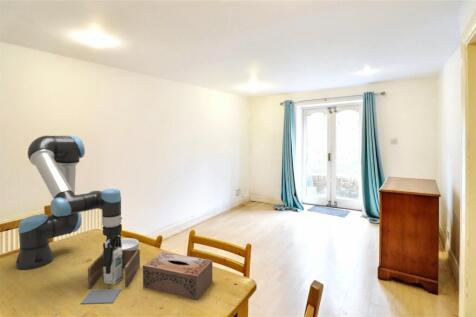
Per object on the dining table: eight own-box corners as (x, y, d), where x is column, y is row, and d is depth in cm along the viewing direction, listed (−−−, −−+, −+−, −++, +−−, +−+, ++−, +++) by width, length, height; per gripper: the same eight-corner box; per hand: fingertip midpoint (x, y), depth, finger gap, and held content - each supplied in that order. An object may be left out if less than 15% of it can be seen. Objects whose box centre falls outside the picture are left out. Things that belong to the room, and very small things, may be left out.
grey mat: (80, 304, 100) (80, 303, 100) (91, 290, 109) (91, 289, 109) (112, 303, 101) (112, 302, 101) (121, 289, 110) (121, 288, 110)
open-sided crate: (88, 288, 111) (87, 268, 110) (106, 267, 129) (105, 250, 128) (127, 287, 112) (127, 267, 111) (139, 267, 130) (139, 249, 129)
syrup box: (115, 284, 114) (114, 252, 113) (103, 283, 115) (102, 251, 114) (123, 278, 120) (122, 247, 118) (112, 276, 121) (111, 245, 120)
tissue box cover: (212, 282, 117) (212, 260, 117) (197, 300, 104) (197, 276, 103) (163, 272, 126) (162, 251, 125) (142, 288, 112) (142, 265, 111)
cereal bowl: (145, 254, 144) (145, 241, 144) (117, 266, 130) (117, 252, 130) (126, 247, 153) (126, 235, 153) (98, 258, 139) (97, 245, 139)
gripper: (111, 233, 105) (112, 287, 107) (129, 217, 126) (130, 263, 128) (91, 233, 105) (93, 288, 106) (112, 217, 126) (114, 263, 127)
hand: (113, 274), depth 117 cm, fingers open, 8 cm apart
